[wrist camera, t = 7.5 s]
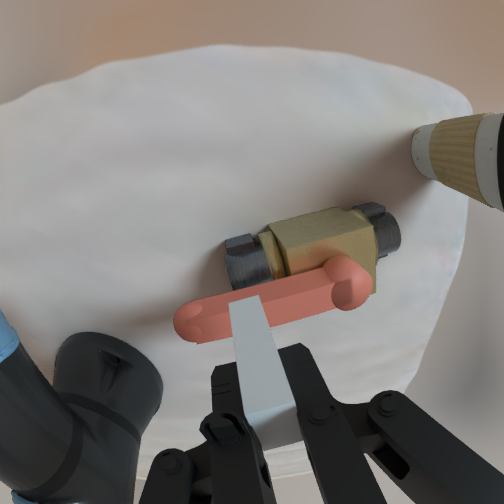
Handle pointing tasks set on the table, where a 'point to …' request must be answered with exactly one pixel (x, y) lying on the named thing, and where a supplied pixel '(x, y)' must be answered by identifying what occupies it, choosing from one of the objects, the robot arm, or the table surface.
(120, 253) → the table surface
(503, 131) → the coffee cup
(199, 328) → the lever
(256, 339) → the robot arm
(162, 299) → the table surface
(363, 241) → the pipe run
